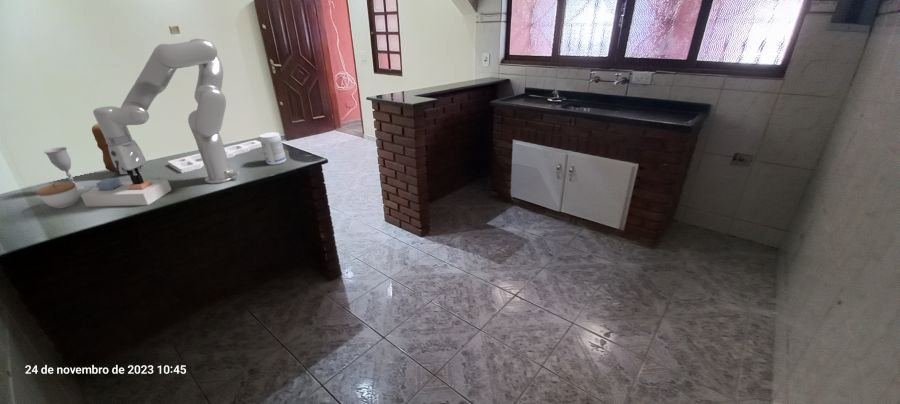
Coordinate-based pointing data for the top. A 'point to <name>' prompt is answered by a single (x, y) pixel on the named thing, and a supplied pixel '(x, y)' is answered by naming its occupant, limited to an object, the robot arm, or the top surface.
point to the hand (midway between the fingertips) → (138, 183)
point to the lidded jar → (59, 194)
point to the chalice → (62, 161)
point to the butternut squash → (103, 148)
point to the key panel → (127, 194)
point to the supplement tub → (272, 148)
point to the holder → (190, 163)
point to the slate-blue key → (109, 184)
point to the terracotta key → (140, 186)
